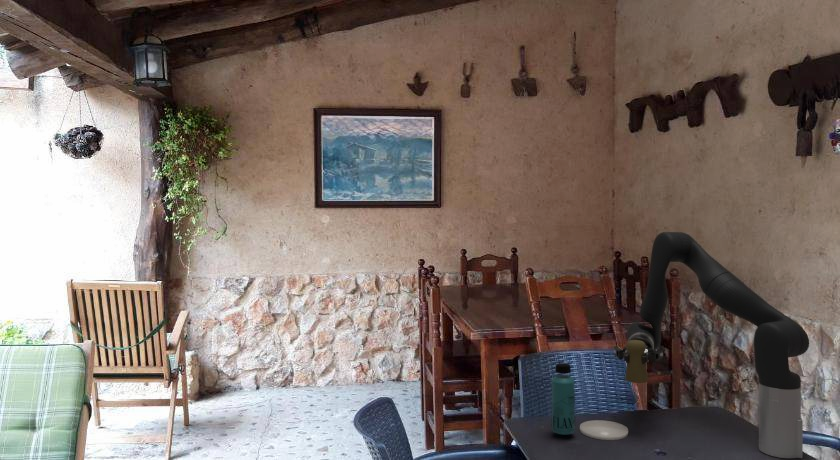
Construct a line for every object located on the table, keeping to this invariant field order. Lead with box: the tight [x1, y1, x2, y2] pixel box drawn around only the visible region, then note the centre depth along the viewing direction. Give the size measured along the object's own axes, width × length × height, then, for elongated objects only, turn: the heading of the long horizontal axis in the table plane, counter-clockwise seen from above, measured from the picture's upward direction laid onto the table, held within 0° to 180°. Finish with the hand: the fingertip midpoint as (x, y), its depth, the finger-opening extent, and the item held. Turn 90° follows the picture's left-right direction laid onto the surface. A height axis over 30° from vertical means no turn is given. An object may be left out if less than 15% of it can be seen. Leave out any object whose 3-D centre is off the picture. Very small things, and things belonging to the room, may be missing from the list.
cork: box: [624, 340, 649, 384], centre depth 168 cm, size 6×6×11 cm
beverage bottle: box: [550, 362, 576, 435], centre depth 168 cm, size 6×7×20 cm
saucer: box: [579, 419, 629, 441], centre depth 171 cm, size 13×13×1 cm
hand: (635, 359), depth 167 cm, fingers closed on cork, 3 cm apart
